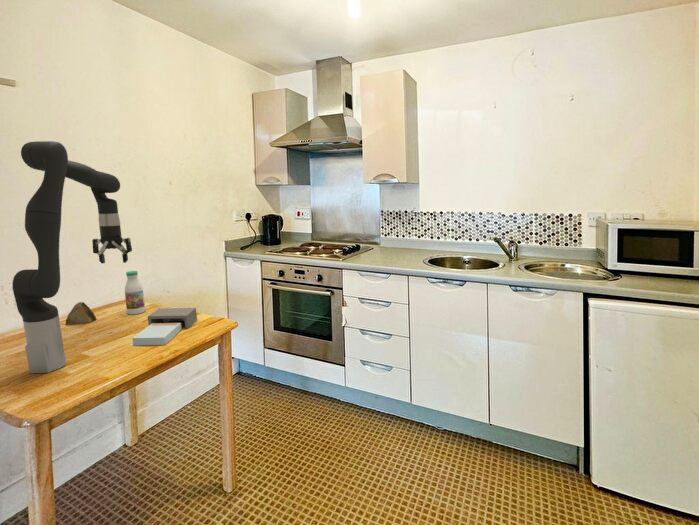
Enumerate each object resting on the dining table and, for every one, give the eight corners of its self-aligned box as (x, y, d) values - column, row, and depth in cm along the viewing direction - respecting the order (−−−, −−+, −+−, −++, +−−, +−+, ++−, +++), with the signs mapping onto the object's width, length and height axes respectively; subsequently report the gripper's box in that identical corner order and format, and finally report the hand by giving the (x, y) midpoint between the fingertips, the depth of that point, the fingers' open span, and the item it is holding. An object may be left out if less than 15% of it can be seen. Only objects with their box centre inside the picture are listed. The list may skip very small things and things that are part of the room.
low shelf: (188, 328, 166) (187, 315, 165) (148, 329, 165) (147, 316, 164) (197, 319, 176) (196, 307, 175) (160, 320, 176) (158, 308, 175)
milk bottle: (128, 311, 190) (123, 270, 186) (145, 308, 193) (141, 269, 189) (126, 315, 183) (121, 273, 179) (145, 313, 186) (140, 272, 182)
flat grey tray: (165, 344, 149) (164, 336, 148) (133, 345, 148) (132, 337, 148) (181, 329, 164) (180, 322, 164) (152, 330, 164) (151, 323, 163)
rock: (56, 321, 168) (76, 319, 167) (62, 303, 172) (82, 301, 171) (77, 329, 178) (96, 327, 176) (82, 311, 182) (101, 309, 180)
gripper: (86, 225, 158) (91, 265, 161) (124, 224, 161) (129, 263, 164) (95, 224, 166) (99, 262, 169) (131, 223, 168) (135, 260, 171)
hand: (114, 262), depth 166 cm, fingers open, 8 cm apart
